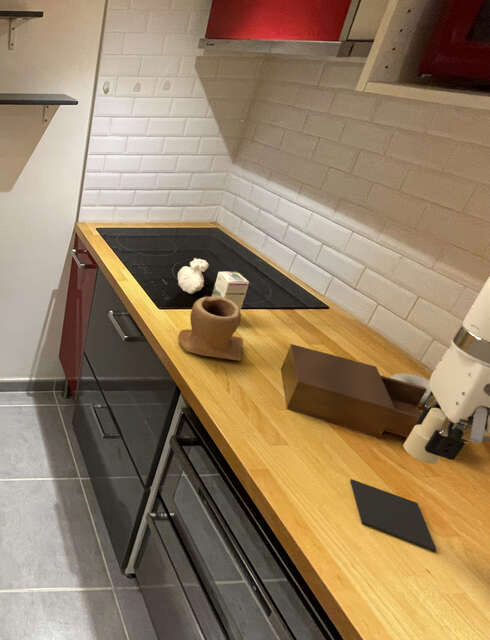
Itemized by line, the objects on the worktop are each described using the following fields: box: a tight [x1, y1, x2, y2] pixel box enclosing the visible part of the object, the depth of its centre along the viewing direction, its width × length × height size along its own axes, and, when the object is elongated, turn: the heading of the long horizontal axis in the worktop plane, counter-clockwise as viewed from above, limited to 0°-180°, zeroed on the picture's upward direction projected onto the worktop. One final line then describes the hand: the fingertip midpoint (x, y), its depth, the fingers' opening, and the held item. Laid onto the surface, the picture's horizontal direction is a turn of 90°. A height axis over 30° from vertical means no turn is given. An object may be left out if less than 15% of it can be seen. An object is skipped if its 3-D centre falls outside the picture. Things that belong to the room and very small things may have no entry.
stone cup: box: [178, 296, 244, 361], centre depth 110 cm, size 15×12×15 cm
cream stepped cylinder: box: [402, 408, 457, 465], centre depth 68 cm, size 4×4×8 cm
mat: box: [350, 478, 437, 553], centre depth 75 cm, size 9×9×1 cm
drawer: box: [380, 374, 490, 443], centre depth 91 cm, size 19×13×6 cm
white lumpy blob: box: [177, 257, 210, 295], centre depth 141 cm, size 12×8×11 cm
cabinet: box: [280, 343, 395, 439], centre depth 97 cm, size 16×15×8 cm
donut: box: [390, 372, 431, 408], centre depth 99 cm, size 10×3×10 cm
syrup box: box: [211, 271, 250, 311], centre depth 123 cm, size 6×6×14 cm
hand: (433, 442), depth 69 cm, fingers closed on cream stepped cylinder, 4 cm apart
